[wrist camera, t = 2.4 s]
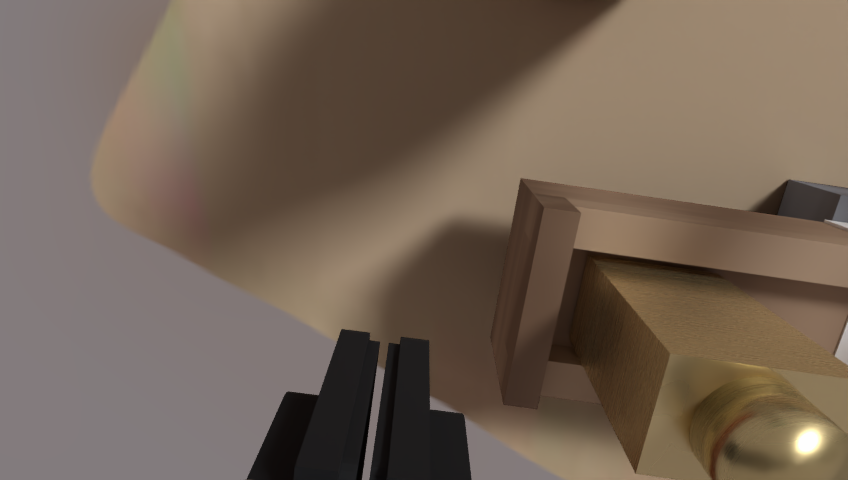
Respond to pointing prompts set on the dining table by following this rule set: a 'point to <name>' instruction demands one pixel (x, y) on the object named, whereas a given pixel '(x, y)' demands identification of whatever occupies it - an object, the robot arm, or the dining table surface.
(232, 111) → the dining table surface
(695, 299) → the rider
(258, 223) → the dining table surface
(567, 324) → the beam
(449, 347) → the dining table surface
